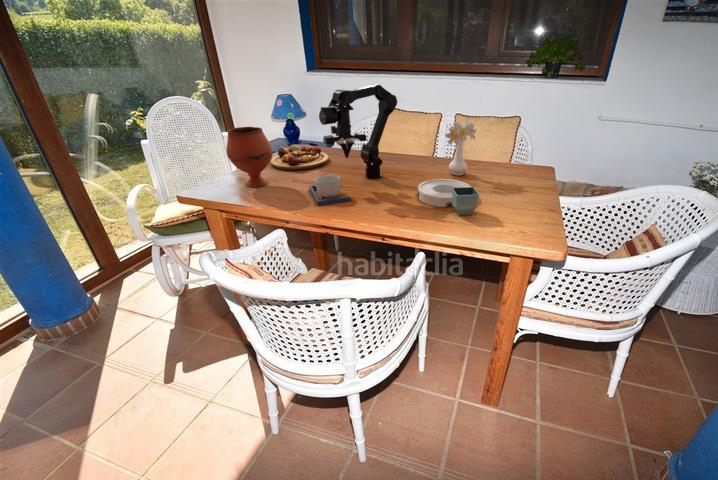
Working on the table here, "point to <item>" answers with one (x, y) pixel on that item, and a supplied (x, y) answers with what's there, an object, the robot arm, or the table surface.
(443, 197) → the ashtray
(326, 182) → the teacup
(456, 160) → the flower vase
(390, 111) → the robot arm
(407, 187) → the table surface
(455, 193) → the flower pot
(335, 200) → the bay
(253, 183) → the goblet
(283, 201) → the table surface
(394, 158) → the table surface
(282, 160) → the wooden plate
